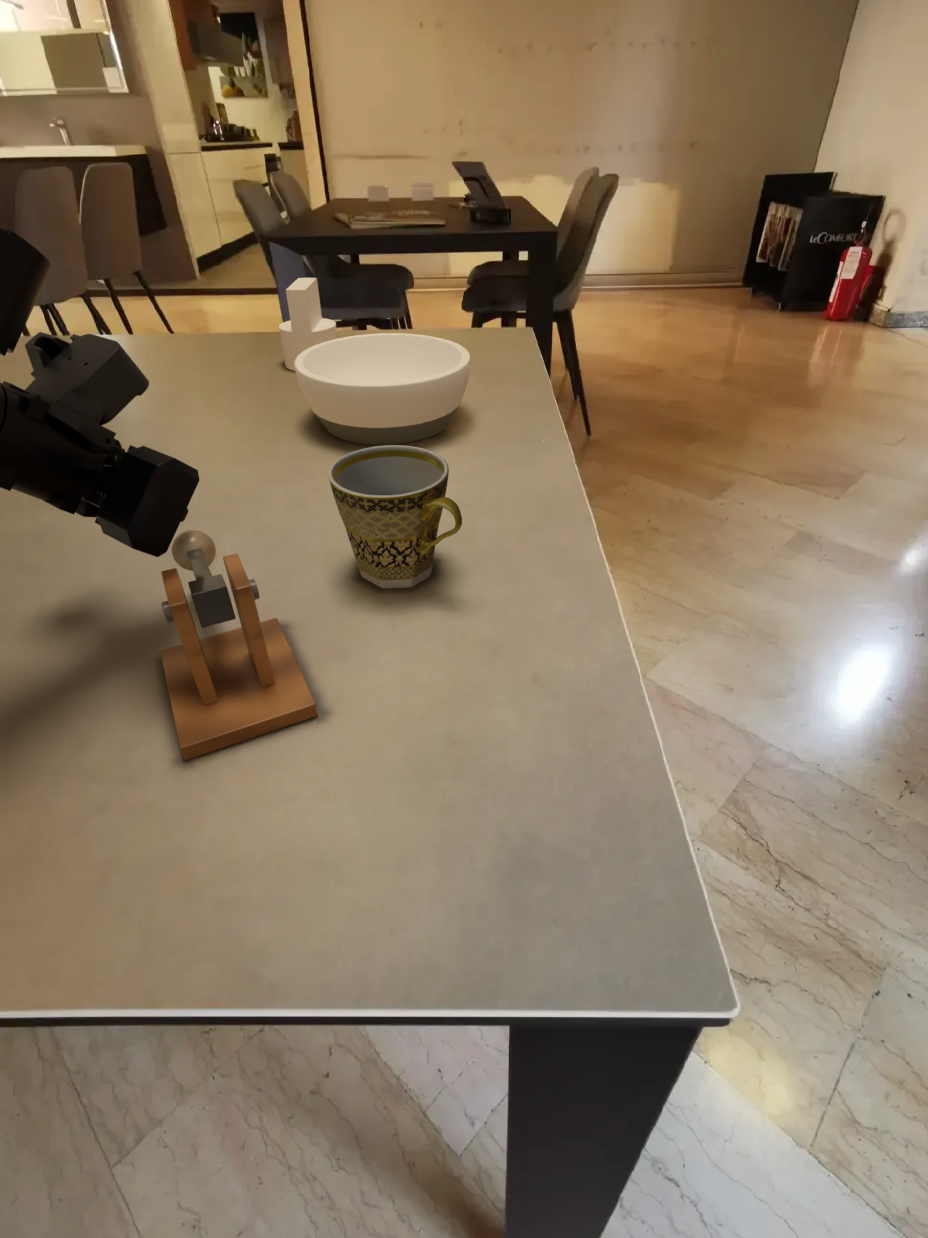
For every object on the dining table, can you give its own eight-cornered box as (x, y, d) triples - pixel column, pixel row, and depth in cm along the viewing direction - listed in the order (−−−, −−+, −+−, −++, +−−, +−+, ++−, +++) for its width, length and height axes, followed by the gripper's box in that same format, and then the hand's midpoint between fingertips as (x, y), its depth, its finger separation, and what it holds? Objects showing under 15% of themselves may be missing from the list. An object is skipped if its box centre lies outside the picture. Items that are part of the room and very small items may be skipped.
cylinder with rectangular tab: (335, 371, 107) (325, 290, 99) (279, 371, 107) (265, 290, 100) (344, 355, 114) (335, 277, 107) (292, 355, 114) (279, 277, 107)
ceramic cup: (320, 571, 61) (303, 471, 55) (398, 530, 67) (391, 435, 61) (420, 630, 55) (414, 522, 48) (497, 578, 60) (501, 476, 54)
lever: (177, 569, 57) (165, 530, 55) (218, 559, 58) (207, 521, 57) (194, 638, 43) (179, 590, 42) (247, 623, 45) (233, 576, 43)
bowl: (497, 406, 94) (499, 344, 89) (417, 468, 79) (413, 397, 73) (365, 382, 103) (359, 325, 97) (268, 434, 87) (255, 369, 82)
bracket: (164, 661, 52) (123, 554, 46) (279, 628, 55) (255, 524, 49) (185, 760, 44) (139, 647, 38) (318, 715, 47) (295, 604, 41)
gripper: (123, 324, 35) (307, 450, 49) (-40, 282, 44) (156, 399, 58) (35, 515, 35) (244, 588, 49) (-112, 435, 44) (102, 516, 58)
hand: (183, 514), depth 53 cm, fingers closed
